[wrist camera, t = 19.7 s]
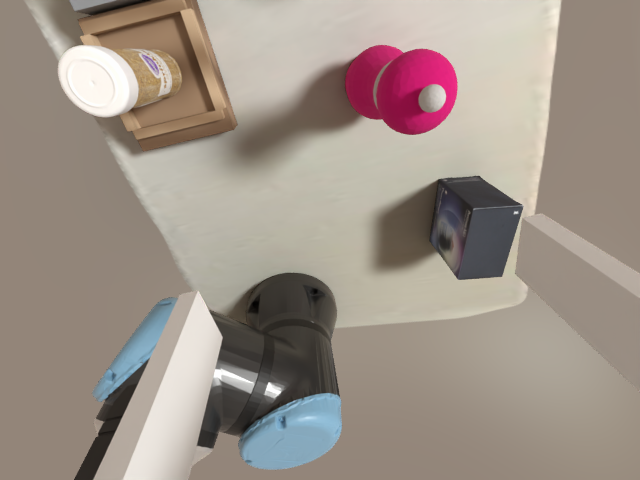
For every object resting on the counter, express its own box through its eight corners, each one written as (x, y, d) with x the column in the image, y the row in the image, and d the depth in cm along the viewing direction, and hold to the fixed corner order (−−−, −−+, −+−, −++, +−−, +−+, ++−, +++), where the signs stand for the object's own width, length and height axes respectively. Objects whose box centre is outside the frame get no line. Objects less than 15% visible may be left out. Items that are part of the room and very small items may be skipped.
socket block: (237, 124, 39) (232, 131, 36) (152, 145, 40) (138, 154, 36) (195, -4, 33) (183, -12, 29) (94, 22, 33) (70, 17, 30)
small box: (435, 177, 45) (472, 207, 36) (480, 174, 45) (527, 203, 36) (426, 241, 50) (456, 282, 41) (466, 238, 51) (505, 277, 42)
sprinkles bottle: (191, 73, 34) (140, 83, 22) (167, 107, 35) (108, 132, 23) (151, 37, 32) (73, 27, 20) (128, 74, 33) (42, 84, 22)
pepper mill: (351, 122, 40) (398, 170, 23) (332, 62, 37) (369, 64, 20) (406, 99, 40) (496, 130, 22) (391, 35, 36) (485, 13, 19)
